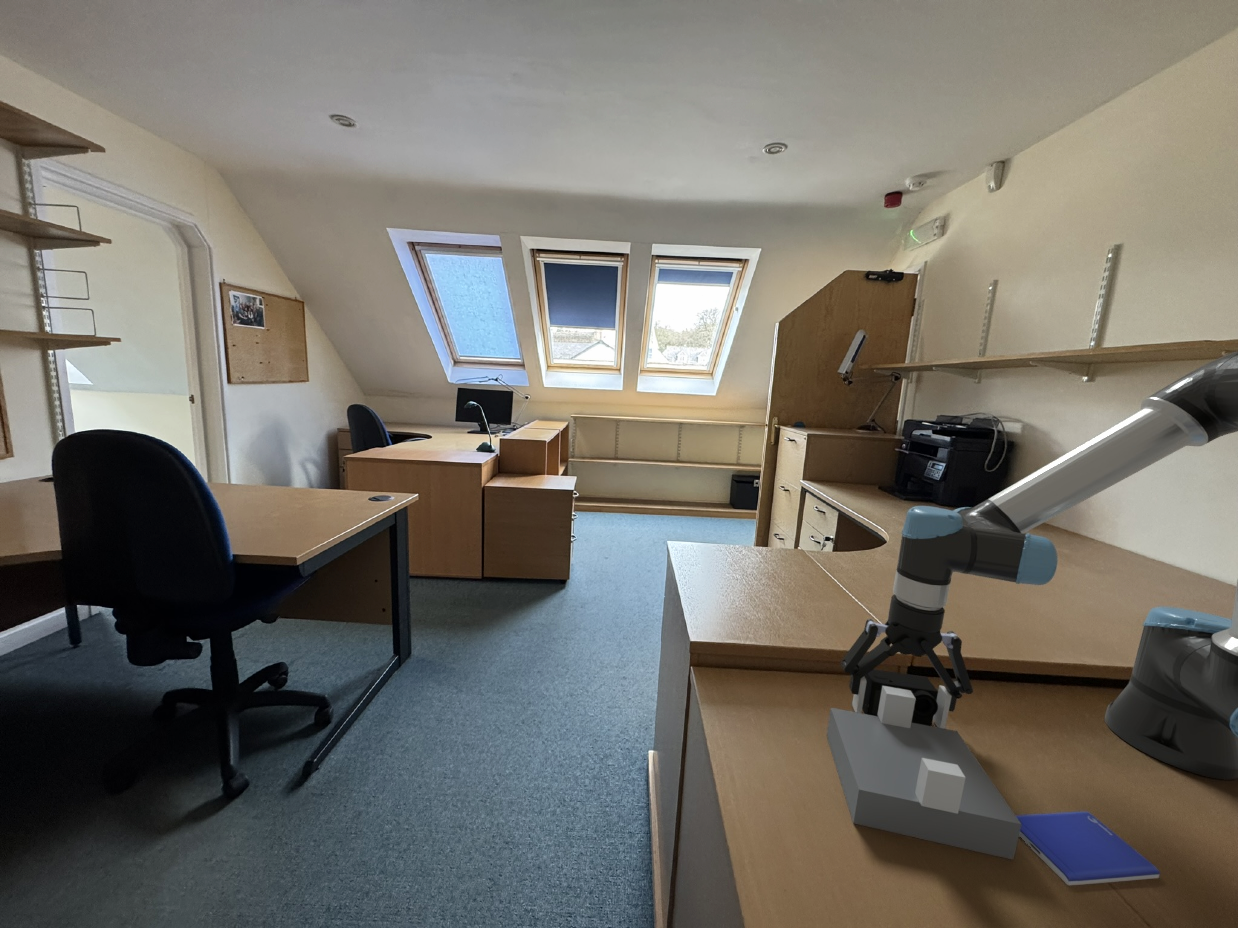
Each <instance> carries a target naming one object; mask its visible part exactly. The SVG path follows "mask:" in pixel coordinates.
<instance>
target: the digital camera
mask: <svg viewBox="0 0 1238 928" xmlns="http://www.w3.org/2000/svg"><path fill="white" fill-rule="evenodd" d="M864 677H865V679H866V681H867V683H866V689H865V694H864V700H863V706H862V712H863V714H867V715H873V716H878V715H877V714H878V708H879V702H880V697H881V691H882V686H888V687H893V688H899V689H905V690H911V692H912V694H913V695H914V697H915V698H916V700H915V705H914V711H913V716H912V722H911V723H916V724H921V725H927V726H932V725H933V722H934V721H933V716H934V715H935V714H936V712H937V710H938V704H937V701H936V700H937V695H938V689H937V688H936V687H935V686H934V684H933V683H932V682H931V681H930V679H929V678H928V677H927V676H923V675H917V674H916V675H915V674H909V673H901V672H893V671H889V670H888V671H887V670H880V669H875V668H874V669H873V670H871V671H870V672H869V673H868V674H866V675H865V676H864ZM932 727H933V726H932Z"/></svg>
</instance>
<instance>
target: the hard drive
mask: <svg viewBox="0 0 1238 928" xmlns="http://www.w3.org/2000/svg"><path fill="white" fill-rule="evenodd" d="M1016 817H1017V818H1018V820H1019V821H1020V823H1021V824H1022V825H1021V829H1020V833H1019V837H1018V838H1020V837H1021V838H1022V839H1023V840H1024V841H1025V842H1024V841H1023V840H1022V839H1021V838H1020V839H1021V840H1022V841H1023V842H1024V843H1025V844H1026V845H1027V844H1028V845H1027V846H1028V847H1029V846H1030V847H1031V848H1030V847H1029V848H1030V849H1031V850H1032V851H1033V852H1034V853H1035V854H1036V855H1037V856H1038V857H1039V858H1040V860H1041V861H1043V862H1044V863H1045V864H1046V865H1047V866H1048V867H1049V868H1050V869H1051V870H1052V872H1054V873H1055V874H1056V875H1057V876H1058V877H1059V878H1060V879H1061V880H1062V881H1063V882H1064V883H1065V885H1067V886H1079V885H1091V884H1092V885H1093V884H1103V883H1104V884H1105V883H1115V882H1128V881H1136V880H1137V881H1139V880H1148V879H1149V880H1150V879H1159V878H1160V875H1161V874H1160V873H1161V871H1160V869H1158V868H1157V867H1156V865H1154V864H1153V863H1151V862H1150V861H1149V860H1148V859H1147V858H1146V857H1144V856H1143V855H1142V854H1140V853H1139V852H1138V850H1136V849H1134V848H1133V847H1132V846H1131V845H1130V844H1128V843H1127V841H1125V840H1123V839H1122V838H1121V837H1120V836H1118V835H1117V834H1116V833H1115V832H1113V830H1112V829H1110V828H1109V827H1108V826H1107V825H1105V824H1104V823H1103V822H1101V821H1100V820H1099V819H1098V818H1097V817H1095V816H1094V815H1093V814H1092V813H1090V812H1089V811H1085V810H1083V811H1082V810H1081V811H1070V812H1069V811H1068V812H1055V813H1037V814H1036V813H1035V814H1034V813H1033V814H1021V815H1019V814H1018V815H1016Z"/></svg>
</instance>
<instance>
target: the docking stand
mask: <svg viewBox="0 0 1238 928" xmlns="http://www.w3.org/2000/svg"><path fill="white" fill-rule="evenodd" d="M915 700H916V698H915V697H914V695H913V694H912V692H911V690H905V689H899V688H893V687H888V686H882V691H881V697H880V702H879V708H878V714H877V715H878V716H873V715H867V714H864V713H862V712H861V713H857V712H855V711H850V710H845V709H840V708H835V707H830V711H829V718H828V724H827V731H826V738H827V739H826V740H827V741H828V744H829V747H830V748H829V749H830V751H831V754H832V757H833V761H834V762H833V763H834V765H835V769H836V770H837V771H836V772H837V773H838V774H837V775H838V778H839V780H840V781H839V782H840V785H841V787H842V791H843V793H844V794H843V795H844V797H845V801H846V804H847V807H848V810H849V815H850V817H851V820H852V821H851V822H852V824H855V825H858V826H864V827H868V828H871V829H872V828H873V829H877V830H882V831H886V832H890V833H894V834H897V835H903V836H907V837H912V838H916V839H921V840H925V841H930V842H934V843H937V844H942V845H947V846H952V847H955V848H959V849H964V850H969V851H973V852H978V853H982V854H986V855H990V856H995V857H1000V858H1003V859H1004V858H1005V859H1009V860H1014V857H1015V854H1016V849H1017V845H1018V841H1019V838H1020V837H1019V833H1020V829H1021V825H1022V824H1021V823H1020V821H1019V820H1018V818H1017V817H1016V816H1017V815H1016V814H1015V812H1014V811H1013V810H1012V809H1011V808H1012V807H1010V805H1009V804H1008V802H1007V801H1006V800H1005V798H1004V797H1003V795H1002V794H1001V793H1000V791H999V789H998V788H997V787H996V785H995V784H994V782H993V780H991V778H990V776H989V775H988V774H987V773H986V770H985V769H984V768H983V766H982V765H981V764H980V762H979V761H978V759H977V758H976V757H975V754H974V753H973V752H972V750H971V749H970V748H969V746H968V745H967V743H966V742H965V740H964V739H963V737H962V736H961V735H960V733H959V732H958V730H953V729H948V728H945V729H943V728H938V727H937V726H927V725H921V724H916V723H911V722H912V716H913V711H914V705H915Z"/></svg>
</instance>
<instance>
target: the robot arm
mask: <svg viewBox="0 0 1238 928" xmlns="http://www.w3.org/2000/svg"><path fill="white" fill-rule="evenodd" d="M1237 432H1238V351H1233V352H1231V353H1228V354H1226V355H1223V356H1221V357H1219V358H1216V359H1214V360H1211V361H1210V362H1208V363H1206V364H1204V365H1202V366H1200V367H1199V368H1196V369H1195V370H1192V371H1190V372H1189V373H1187V374H1185V375H1183V376H1182V377H1180V378H1178V379H1176V380H1175V381H1173V382H1172V383H1170V384H1168V385H1166V386H1165V387H1163V388H1161V389H1159V390H1158V391H1156V392H1154V393H1152V394H1151V395H1149V396H1147V397H1146V398H1145V399H1143V400H1142V401H1141V404H1140V410H1138V411H1136V412H1134V413H1132V414H1131V415H1129V416H1127V417H1125V418H1124V419H1122V420H1121V421H1119V422H1117V423H1115V424H1114V425H1111V426H1110V427H1108V428H1107V429H1105V430H1103V431H1102V432H1100V433H1099V434H1097V435H1095V436H1092V438H1090V439H1088V440H1087V441H1084V442H1083V443H1081V444H1080V445H1078V446H1076V447H1074V448H1073V449H1072V450H1070V451H1067V452H1066V453H1064V454H1063V455H1061V456H1059V457H1057V458H1056V459H1054V460H1053V461H1051V462H1049V463H1047V464H1045V465H1043V466H1042V467H1041V468H1038V469H1037V470H1035V471H1033V472H1032V473H1030V474H1029V475H1028V474H1027V476H1025V477H1024V478H1022V479H1020V480H1018V481H1017V482H1015V483H1014V484H1012V485H1010V486H1008V487H1006V488H1005V489H1003V490H1002V491H1000V492H998V493H995V494H994V495H993V496H990V497H989V498H988V499H985V500H984V501H982V502H980V503H978V504H977V505H975V506H973V507H972V506H971V507H969V506H964V507H959V508H956V509H953V510H950V509H946V508H941V507H936V506H931V505H930V506H929V505H916V506H913V507H911V508H909V509H908V510H907V513H906V516H905V521H904V523H903V528H902V530H901V540H900V547H899V553H898V560H897V565H896V569H895V570H896V571H895V576H894V581H893V586H892V588H893V589H892V593H893V595H891V599H890V604H889V609H888V615H887V616H888V618H887V620H886V622H885V623H878V622H875V621H874V620H873V619H872V618H868V619H867V620H866V621H865V623H864V629H863V631H862V632H861V634H860V635H859V636H858V637H857V639H856V641H855V642H853V645H851V647H850V649H849V650H848V651H847V652H846V654H845V655H844V657H843V658H842V659H841V661H840V665H841V666H842V668H843V671H844V673H845V674H850V679H849V685H848V686H849V689H850V692H851V694H853V695H852V697H853V698H852V703H851V707H852V708H853V710H854V711H853V712H857V713H862V712H863V710H862V706H863V700H864V694H865V689H866V683H867V681H866V679H865V677H864V676H865V675H866V674H868V673H869V672H870V671H871V670H873V669H874V670H875V668H877V667H879V665H880V664H881V663H882V664H883V662H884V661H886V660H887V659H888V658H889V657H894V656H895V655H897V654H898V653H900V655H904V656H905V655H906V656H907V655H913V657H918V658H922V657H923V656H926V657H927V659H928V661H929V663H930V664H931V665H932V666H933V668H934V670H935V672H937V674H938V676H939V677H940V680H941V681H942V682H943V684H944V685H939V686H938V689H937V691H938V695H937V700H936V701H937V704H938V710H937V712H936V714H935V715H934V716H933V721H932V722H933V723H934V724H935V725H936V726H935V727H938V728H943V729H946V727H947V722H948V716H949V713H950V712H954V711H955V709H956V704H957V699H961V698H962V697H963V693H965V694H966V695H971V694H973V693H974V689H973V687H972V686H973V685H972V684H971V680H970V677H969V673H968V670H967V667H966V664H965V661H964V658H963V655H962V654H963V653H962V646H963V645H962V643H963V641H962V639H961V638H960V637H959V636H958V635H957V634H956V633H955V632H954V631H953V630H950V631H947V632H945V633H944V632H941V630H942V628H943V624H944V618H945V611H946V610H945V608H944V607H946V606H947V603H948V596H949V592H950V587H951V582H952V581H951V580H952V575H953V574H954V573H958V574H959V573H960V574H964V575H970V576H976V577H982V578H988V579H993V580H998V581H999V580H1000V581H1004V582H1008V583H1009V582H1010V583H1015V584H1017V585H1019V584H1021V585H1030V586H1031V585H1032V586H1033V585H1034V586H1043V585H1046V584H1048V583H1049V582H1051V580H1052V579H1053V578H1054V576H1055V574H1056V571H1057V567H1058V552H1057V548H1056V547H1055V546H1056V545H1054V542H1053V541H1051V539H1049V538H1047V537H1045V536H1040V535H1035V534H1031V533H1030V532H1029V531H1031V530H1032V529H1034V528H1037V527H1038V526H1040V525H1042V524H1044V523H1045V522H1047V521H1049V520H1051V519H1053V518H1055V517H1057V516H1058V515H1060V514H1062V513H1064V512H1066V511H1068V510H1070V509H1072V508H1073V507H1075V506H1077V505H1079V504H1080V503H1082V502H1085V501H1086V500H1088V499H1090V498H1092V497H1094V496H1095V495H1098V494H1099V493H1102V492H1103V491H1105V490H1107V489H1109V488H1110V487H1113V486H1115V485H1117V484H1118V483H1120V482H1121V481H1123V480H1125V479H1128V478H1129V477H1131V476H1133V475H1135V474H1136V473H1138V472H1140V471H1142V470H1143V469H1145V468H1148V467H1149V466H1151V465H1153V464H1155V463H1156V462H1158V461H1160V460H1162V459H1164V458H1166V457H1168V456H1170V455H1172V454H1173V453H1175V452H1177V451H1179V450H1181V449H1183V448H1185V447H1202V446H1205V445H1206V444H1208V443H1210V442H1213V441H1214V440H1216V439H1219V438H1220V437H1223V436H1225V435H1230V434H1232V433H1237ZM1235 588H1236V590H1235V596H1234V602H1233V611H1232V614H1231V615H1232V617H1231V619H1230V618H1228V617H1223V616H1218V615H1216V614H1211V613H1207V612H1203V611H1202V612H1201V611H1198V610H1197V611H1196V610H1192V609H1186V608H1180V607H1174V606H1173V607H1172V606H1156V607H1153V608H1151V609H1150V610H1149V611H1148V614H1147V616H1146V618H1145V620H1144V622H1143V624H1142V627H1143V629H1142V633H1141V635H1140V636H1141V637H1140V640H1139V644H1138V647H1137V652H1136V656H1135V659H1134V663H1133V668H1132V671H1131V676H1130V679H1129V681H1128V683H1127V685H1126V686H1125V688H1124V689H1122V691H1121V692H1120V694H1119V695H1118V696H1117V697H1116V698H1115V700H1113V701H1111V702H1110V703H1109V704H1108V706H1107V708H1106V710H1105V715H1104V721H1105V724H1106V725H1107V727H1108V728H1109V729H1110V730H1111V731H1112V732H1113V733H1114V734H1115V735H1117V737H1119V738H1121V740H1123V741H1125V742H1126V743H1128V744H1129V745H1131V746H1132V747H1134V748H1136V749H1138V751H1141V752H1143V753H1144V754H1147V755H1148V756H1150V757H1152V758H1155V759H1157V760H1158V761H1161V762H1163V763H1165V764H1168V765H1171V766H1172V767H1175V768H1178V769H1181V770H1183V771H1187V772H1189V773H1192V774H1194V775H1195V774H1196V775H1198V776H1199V775H1200V776H1203V777H1207V778H1211V779H1217V780H1227V781H1228V780H1236V779H1238V579H1237V581H1236V587H1235ZM883 633H884V634H885V635H886V636H885V637H884V638H882V639H881V640H880V641H879V644H877V645H876V646H875V647H874V648H873V649H871V647H872V646H873V644H874V643H875V641H876V639H877V638H879V637H881V634H883ZM941 643H942V644H943V645H944V646H945V647H946V651H947V654H948V658H949V660H950V663H951V664H950V665H951V666H952V669H953V670H952V671H953V673H954V676H955V679H956V680H955V681H954V680H953V678H952V676H950V674H949V673H948V671H947V669H946V668H945V666H944V665H943V663H942V662H941V660H940V659H939V656H938V655H937V654H936V652H935V650H934V649H935V648H936V647H937V646H938V645H940V644H941ZM870 649H871V650H870ZM869 650H870V651H869Z"/></svg>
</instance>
